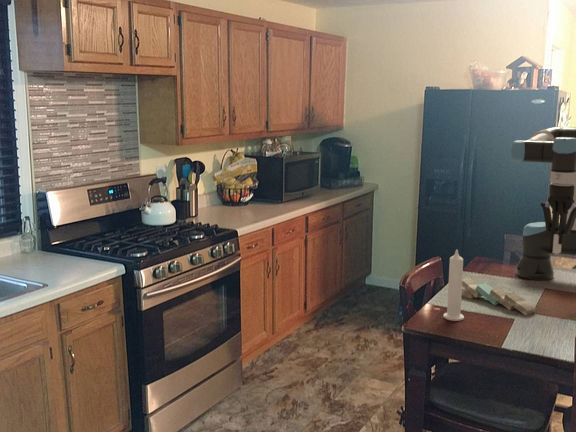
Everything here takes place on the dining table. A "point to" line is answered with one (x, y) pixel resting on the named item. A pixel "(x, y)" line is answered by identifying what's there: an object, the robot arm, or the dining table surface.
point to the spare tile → (486, 293)
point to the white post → (455, 288)
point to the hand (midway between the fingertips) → (556, 252)
